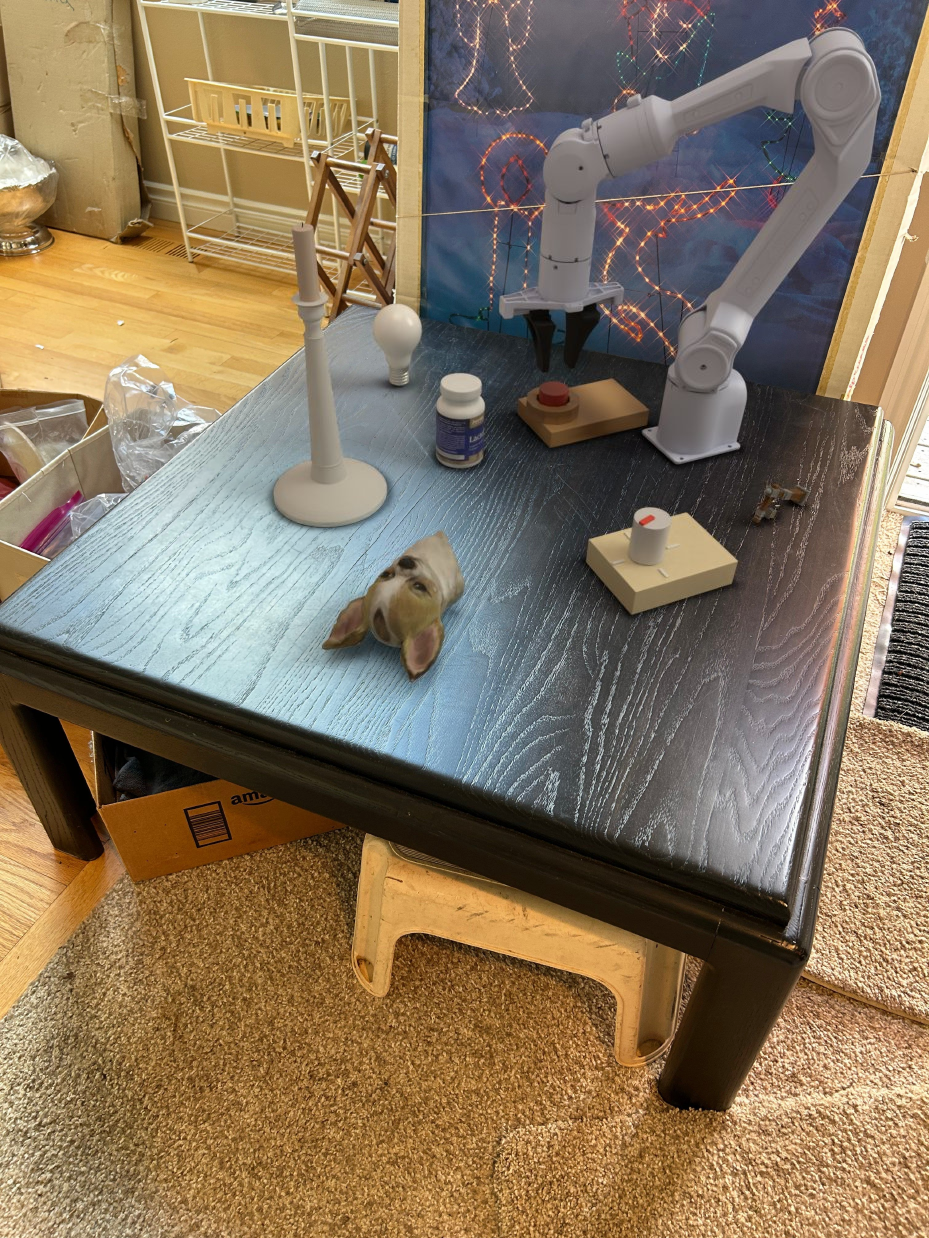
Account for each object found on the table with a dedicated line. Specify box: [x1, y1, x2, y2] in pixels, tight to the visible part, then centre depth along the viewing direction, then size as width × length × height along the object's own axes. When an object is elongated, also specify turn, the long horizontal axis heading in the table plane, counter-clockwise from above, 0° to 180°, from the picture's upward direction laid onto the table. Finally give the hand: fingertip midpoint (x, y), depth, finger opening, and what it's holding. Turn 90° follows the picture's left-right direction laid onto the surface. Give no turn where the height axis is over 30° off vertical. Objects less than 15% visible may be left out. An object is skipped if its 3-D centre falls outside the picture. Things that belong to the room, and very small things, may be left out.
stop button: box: [539, 380, 570, 407], centre depth 111 cm, size 4×4×2 cm
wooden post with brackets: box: [752, 483, 811, 524], centre depth 100 cm, size 2×8×4 cm, turn 127°
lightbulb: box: [372, 303, 423, 387], centre depth 118 cm, size 6×6×11 cm
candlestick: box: [272, 221, 388, 528], centre depth 93 cm, size 13×13×30 cm
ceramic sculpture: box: [321, 529, 466, 683], centre depth 83 cm, size 11×9×15 cm
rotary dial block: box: [585, 512, 739, 616], centre depth 92 cm, size 12×9×3 cm
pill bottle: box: [435, 372, 486, 469], centre depth 105 cm, size 6×6×10 cm
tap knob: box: [628, 506, 672, 566], centre depth 89 cm, size 4×4×5 cm
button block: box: [517, 378, 650, 449], centre depth 114 cm, size 15×9×4 cm, turn 114°
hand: (555, 367), depth 109 cm, fingers open, 3 cm apart
